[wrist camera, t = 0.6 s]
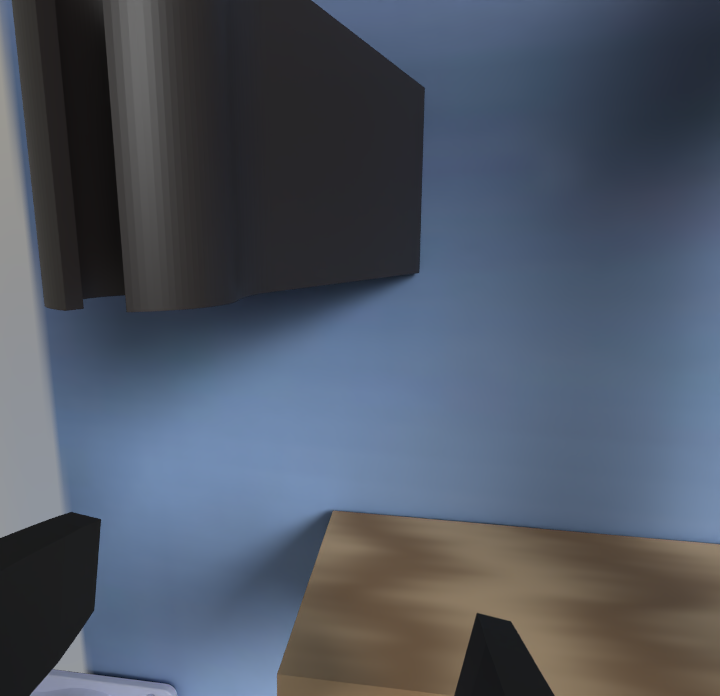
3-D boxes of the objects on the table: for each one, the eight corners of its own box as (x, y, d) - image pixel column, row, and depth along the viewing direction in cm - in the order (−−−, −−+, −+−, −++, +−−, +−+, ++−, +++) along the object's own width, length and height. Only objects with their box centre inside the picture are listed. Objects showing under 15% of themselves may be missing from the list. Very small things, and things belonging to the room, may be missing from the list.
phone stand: (176, 268, 20) (-183, 304, 8) (167, 96, 19) (-268, -156, 7) (419, 273, 19) (411, 323, 7) (426, 91, 18) (431, -213, 6)
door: (859, 556, 18) (1177, 784, 11) (845, 617, 19) (1139, 878, 11) (333, 510, 20) (277, 674, 13) (331, 566, 21) (277, 757, 13)
